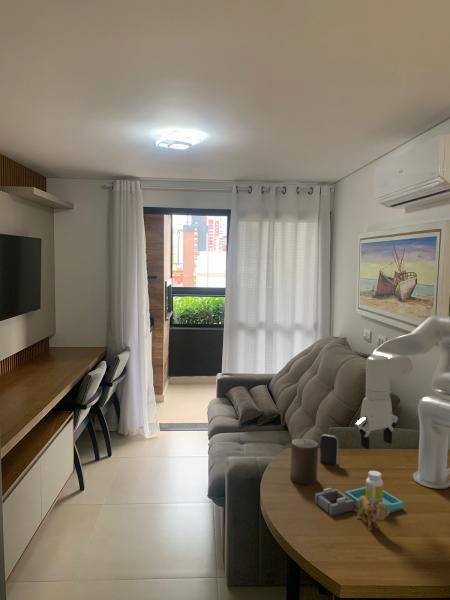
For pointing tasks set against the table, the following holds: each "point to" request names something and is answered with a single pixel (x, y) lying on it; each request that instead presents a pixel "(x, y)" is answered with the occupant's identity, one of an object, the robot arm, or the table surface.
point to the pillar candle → (304, 461)
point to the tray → (388, 501)
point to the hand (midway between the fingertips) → (376, 444)
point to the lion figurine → (371, 511)
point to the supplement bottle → (374, 487)
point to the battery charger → (329, 449)
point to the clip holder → (341, 506)
